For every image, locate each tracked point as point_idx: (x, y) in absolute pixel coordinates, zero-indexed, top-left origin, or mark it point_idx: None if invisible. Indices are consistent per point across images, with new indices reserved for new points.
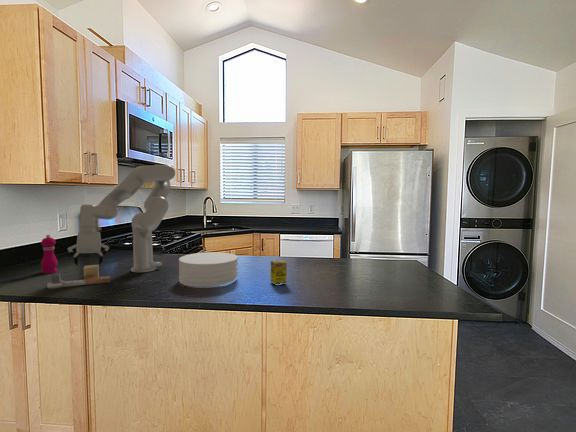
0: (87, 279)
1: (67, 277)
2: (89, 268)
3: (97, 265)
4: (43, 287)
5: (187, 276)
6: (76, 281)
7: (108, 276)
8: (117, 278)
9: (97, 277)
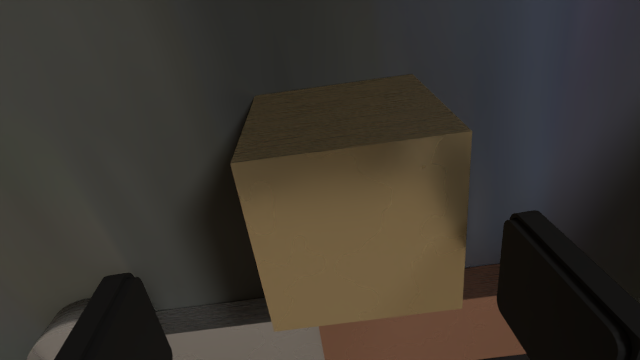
0: (343, 355)
1: (9, 9)
2: (349, 315)
3: (454, 203)
4: (13, 335)
5: None
6: (256, 357)
7: None
8: (589, 229)
9: (424, 316)
